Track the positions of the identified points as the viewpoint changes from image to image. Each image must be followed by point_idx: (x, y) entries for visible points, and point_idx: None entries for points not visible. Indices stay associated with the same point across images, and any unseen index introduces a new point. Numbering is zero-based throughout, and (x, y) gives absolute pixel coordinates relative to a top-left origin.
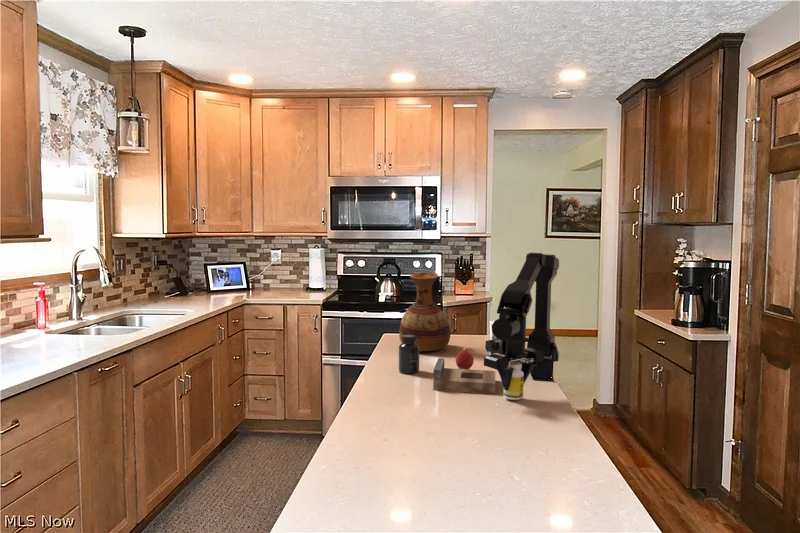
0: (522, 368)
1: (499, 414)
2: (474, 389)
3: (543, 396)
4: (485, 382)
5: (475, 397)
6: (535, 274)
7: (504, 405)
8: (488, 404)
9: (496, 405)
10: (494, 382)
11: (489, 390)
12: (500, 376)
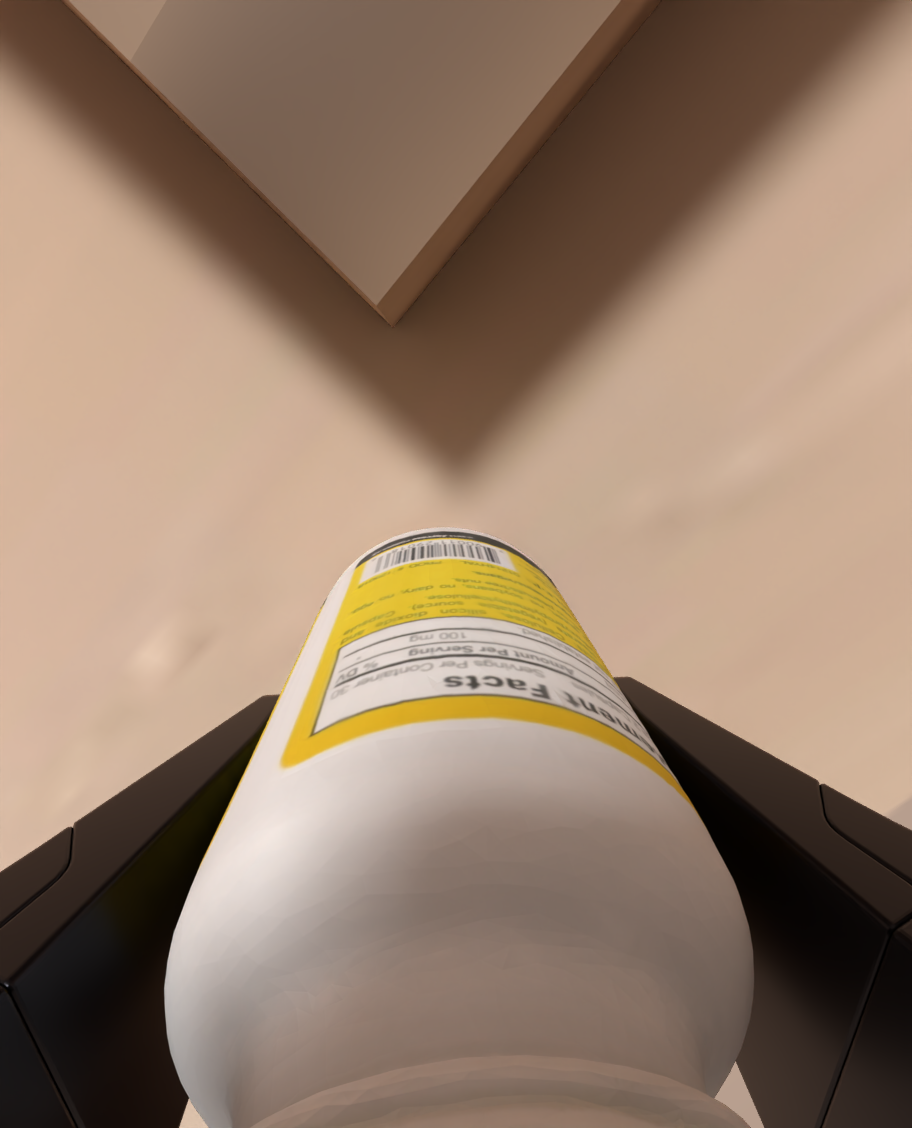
0: (871, 1103)
1: (4, 868)
2: (72, 10)
3: (814, 710)
4: (222, 80)
5: (2, 297)
6: None
7: (210, 722)
8: (43, 618)
9: (121, 684)
10: (417, 219)
11: (314, 248)
12: (8, 880)
